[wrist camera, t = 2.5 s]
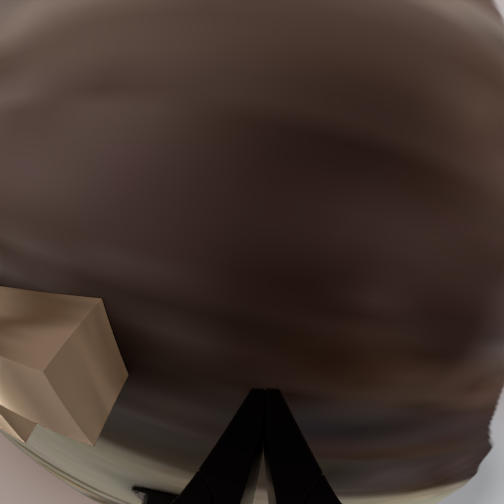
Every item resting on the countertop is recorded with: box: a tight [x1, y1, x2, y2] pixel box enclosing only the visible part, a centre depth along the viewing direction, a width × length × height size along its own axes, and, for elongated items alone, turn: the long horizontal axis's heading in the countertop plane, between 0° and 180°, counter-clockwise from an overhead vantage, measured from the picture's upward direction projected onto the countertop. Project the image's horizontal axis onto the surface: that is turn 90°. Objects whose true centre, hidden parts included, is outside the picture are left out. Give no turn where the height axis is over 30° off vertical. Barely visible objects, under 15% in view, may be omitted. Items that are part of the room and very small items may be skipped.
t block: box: [0, 286, 128, 446], centre depth 9 cm, size 11×12×4 cm
